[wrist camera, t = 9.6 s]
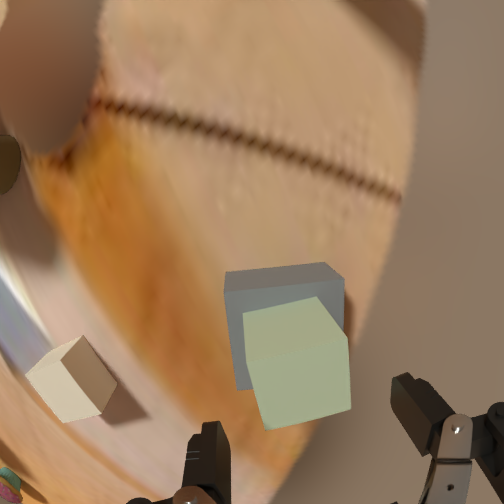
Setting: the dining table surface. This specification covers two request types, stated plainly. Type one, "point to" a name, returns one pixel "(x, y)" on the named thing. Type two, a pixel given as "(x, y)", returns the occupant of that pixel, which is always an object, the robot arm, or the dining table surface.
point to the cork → (8, 162)
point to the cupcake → (10, 486)
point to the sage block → (297, 362)
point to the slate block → (276, 300)
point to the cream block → (73, 381)
